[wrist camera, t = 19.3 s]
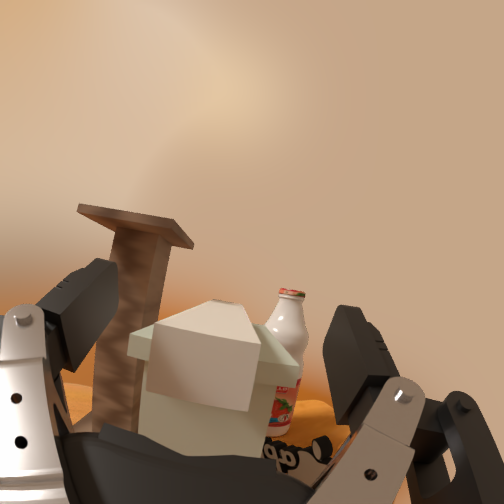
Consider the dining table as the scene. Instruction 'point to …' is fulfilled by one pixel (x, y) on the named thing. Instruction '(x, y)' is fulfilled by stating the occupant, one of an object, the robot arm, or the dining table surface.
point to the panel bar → (205, 356)
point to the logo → (299, 458)
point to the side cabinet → (210, 417)
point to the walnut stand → (128, 311)
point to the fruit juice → (295, 342)
